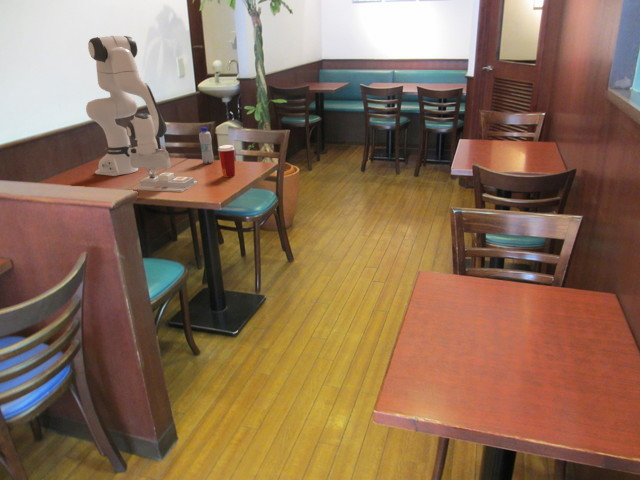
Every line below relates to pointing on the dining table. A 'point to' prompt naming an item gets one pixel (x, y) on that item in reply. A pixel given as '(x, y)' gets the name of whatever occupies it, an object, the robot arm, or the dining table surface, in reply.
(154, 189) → the keypad base
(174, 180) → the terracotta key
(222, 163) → the coffee cup
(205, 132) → the bottle
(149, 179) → the charcoal key
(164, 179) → the sage key
